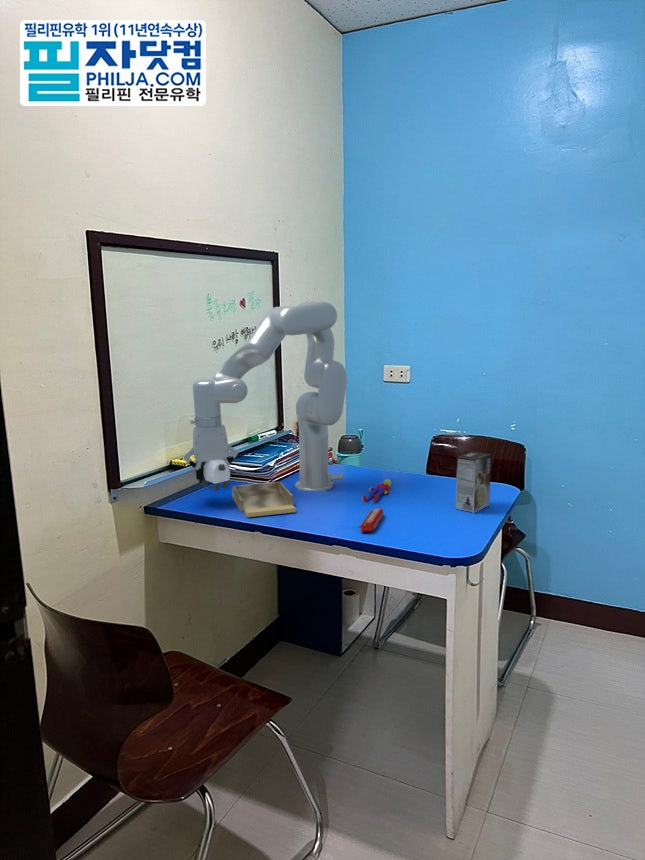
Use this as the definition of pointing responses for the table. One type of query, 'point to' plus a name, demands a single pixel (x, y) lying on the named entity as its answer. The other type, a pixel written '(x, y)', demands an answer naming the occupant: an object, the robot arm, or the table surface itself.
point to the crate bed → (261, 495)
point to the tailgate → (270, 510)
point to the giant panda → (215, 473)
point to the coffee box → (473, 481)
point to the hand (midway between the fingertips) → (213, 479)
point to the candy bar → (372, 520)
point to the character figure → (378, 490)
